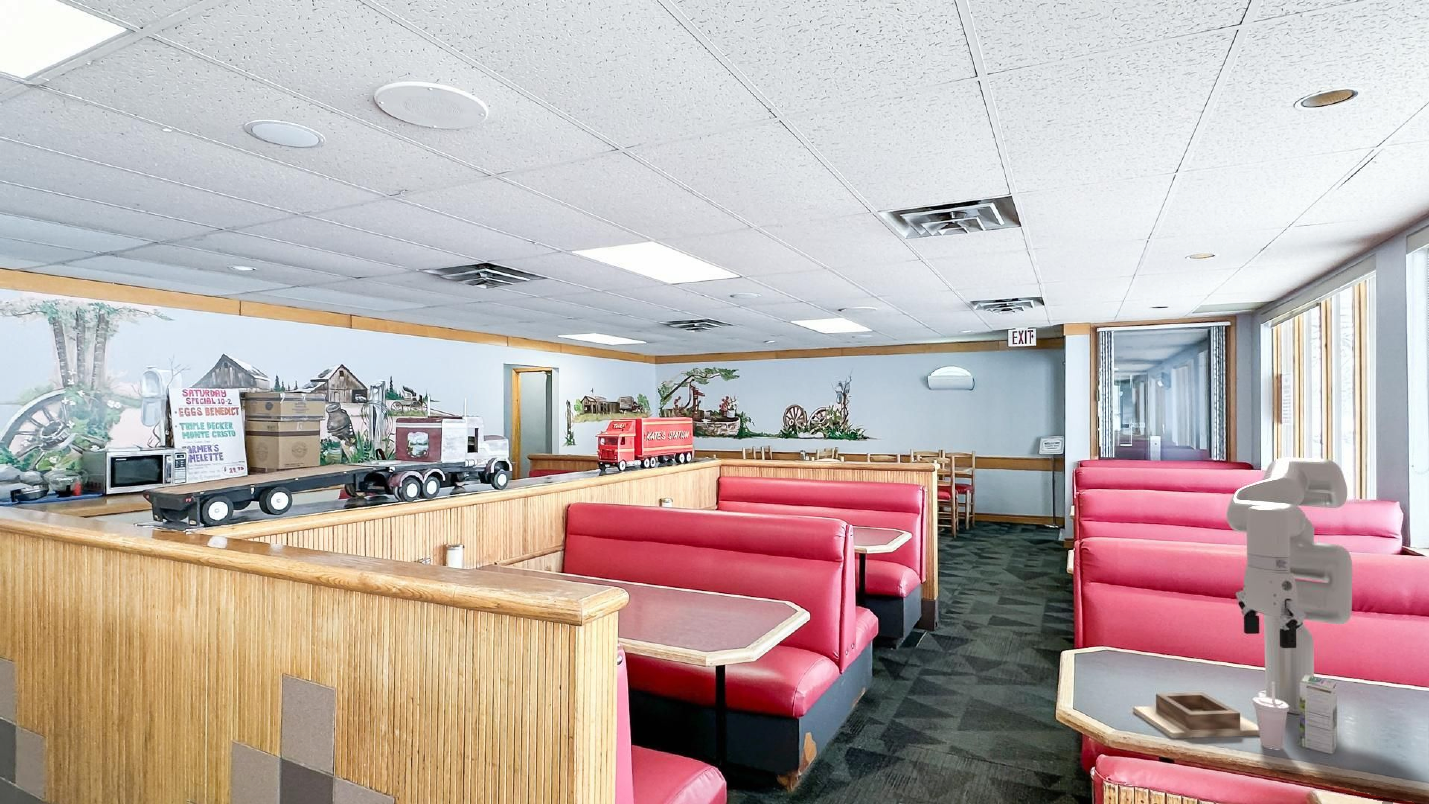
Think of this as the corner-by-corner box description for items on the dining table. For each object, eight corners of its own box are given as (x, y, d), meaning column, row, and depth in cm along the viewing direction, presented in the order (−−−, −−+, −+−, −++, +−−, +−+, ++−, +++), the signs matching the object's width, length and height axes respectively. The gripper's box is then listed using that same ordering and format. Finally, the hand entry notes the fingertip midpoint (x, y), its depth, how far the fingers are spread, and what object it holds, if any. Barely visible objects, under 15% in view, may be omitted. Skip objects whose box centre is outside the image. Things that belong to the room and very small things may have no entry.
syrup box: (1303, 738, 160) (1302, 673, 161) (1338, 747, 156) (1337, 680, 156) (1299, 746, 157) (1298, 680, 157) (1334, 755, 152) (1333, 688, 152)
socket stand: (1219, 709, 176) (1219, 690, 176) (1265, 735, 162) (1265, 714, 162) (1133, 711, 175) (1132, 692, 175) (1172, 738, 161) (1172, 717, 161)
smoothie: (1296, 754, 153) (1295, 689, 153) (1262, 751, 154) (1261, 687, 154) (1279, 740, 159) (1278, 678, 159) (1247, 738, 161) (1246, 676, 161)
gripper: (1319, 571, 149) (1320, 653, 148) (1253, 554, 166) (1254, 628, 166) (1285, 571, 148) (1286, 654, 148) (1222, 555, 166) (1223, 628, 165)
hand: (1269, 640), depth 157 cm, fingers open, 9 cm apart
